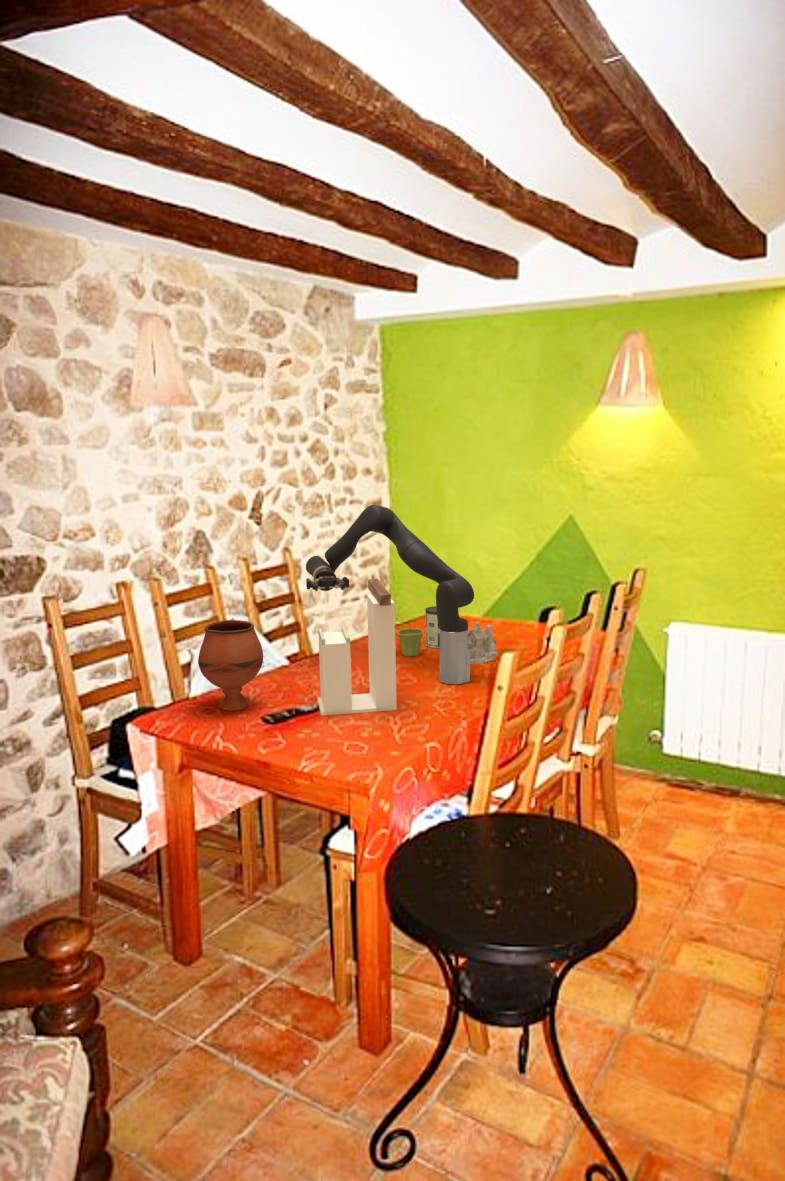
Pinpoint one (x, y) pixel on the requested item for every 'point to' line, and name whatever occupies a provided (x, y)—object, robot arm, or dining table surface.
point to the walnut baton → (379, 592)
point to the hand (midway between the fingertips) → (329, 587)
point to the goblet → (230, 659)
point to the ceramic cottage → (481, 645)
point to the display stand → (338, 666)
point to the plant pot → (410, 641)
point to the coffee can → (432, 628)
